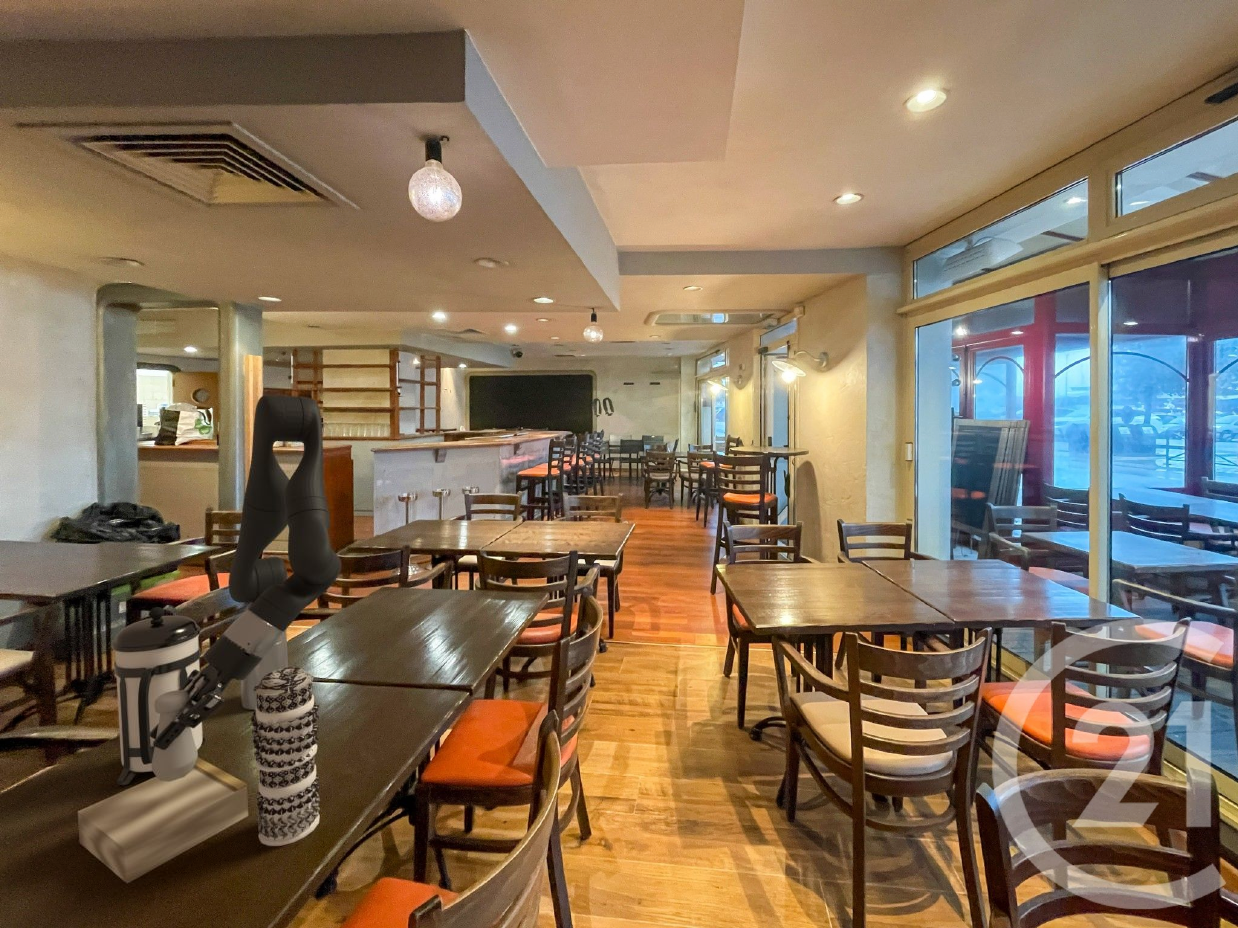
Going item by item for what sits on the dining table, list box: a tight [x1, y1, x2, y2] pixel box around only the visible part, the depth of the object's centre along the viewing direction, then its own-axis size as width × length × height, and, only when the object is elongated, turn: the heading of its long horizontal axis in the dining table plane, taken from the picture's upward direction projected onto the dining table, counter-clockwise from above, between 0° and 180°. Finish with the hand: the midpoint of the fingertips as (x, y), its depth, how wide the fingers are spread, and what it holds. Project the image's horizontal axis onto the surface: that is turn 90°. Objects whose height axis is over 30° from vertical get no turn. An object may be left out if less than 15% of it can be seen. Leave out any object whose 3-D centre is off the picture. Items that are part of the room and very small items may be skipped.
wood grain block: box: [77, 756, 249, 884], centre depth 90 cm, size 16×16×5 cm
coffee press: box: [111, 606, 206, 787], centre depth 106 cm, size 17×16×30 cm
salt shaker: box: [151, 690, 199, 782], centre depth 90 cm, size 6×6×13 cm
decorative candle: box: [250, 666, 321, 847], centre depth 90 cm, size 9×9×25 cm
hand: (157, 742), depth 88 cm, fingers closed on salt shaker, 3 cm apart
